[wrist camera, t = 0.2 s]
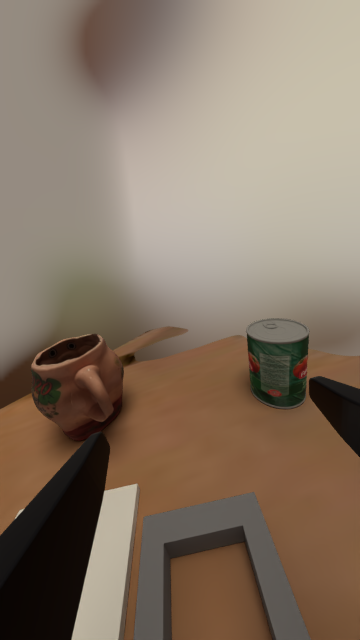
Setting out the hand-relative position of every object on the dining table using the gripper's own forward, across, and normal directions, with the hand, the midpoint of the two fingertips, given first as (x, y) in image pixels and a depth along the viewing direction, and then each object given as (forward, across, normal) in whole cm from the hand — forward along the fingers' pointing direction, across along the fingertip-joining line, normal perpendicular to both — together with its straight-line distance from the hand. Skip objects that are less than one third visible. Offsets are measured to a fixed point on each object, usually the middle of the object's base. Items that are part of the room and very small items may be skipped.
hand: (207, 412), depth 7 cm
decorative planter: (+19, +18, +16) cm, 30 cm away
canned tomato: (+17, -12, +17) cm, 27 cm away
